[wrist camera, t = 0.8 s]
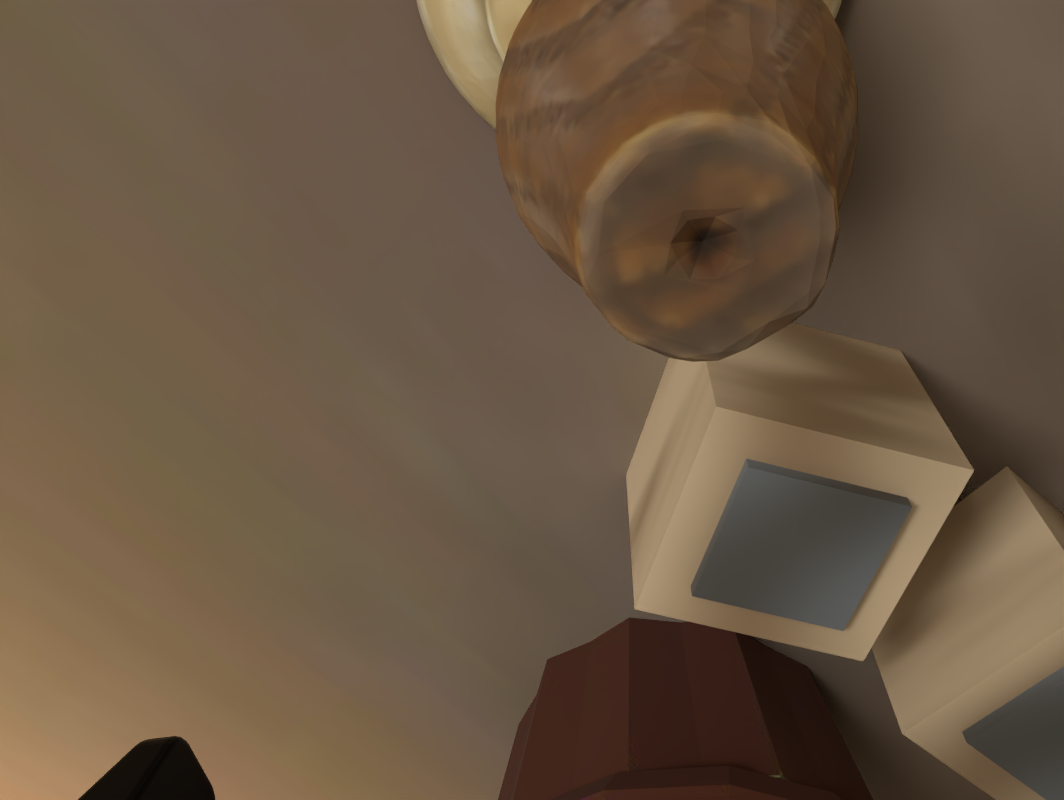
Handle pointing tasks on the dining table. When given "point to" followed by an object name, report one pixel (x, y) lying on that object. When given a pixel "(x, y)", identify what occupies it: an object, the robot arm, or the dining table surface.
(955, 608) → the oak block
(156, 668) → the dining table surface
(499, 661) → the dining table surface
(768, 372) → the oak block
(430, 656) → the dining table surface
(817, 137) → the hand bell
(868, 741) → the dining table surface
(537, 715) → the muffin
